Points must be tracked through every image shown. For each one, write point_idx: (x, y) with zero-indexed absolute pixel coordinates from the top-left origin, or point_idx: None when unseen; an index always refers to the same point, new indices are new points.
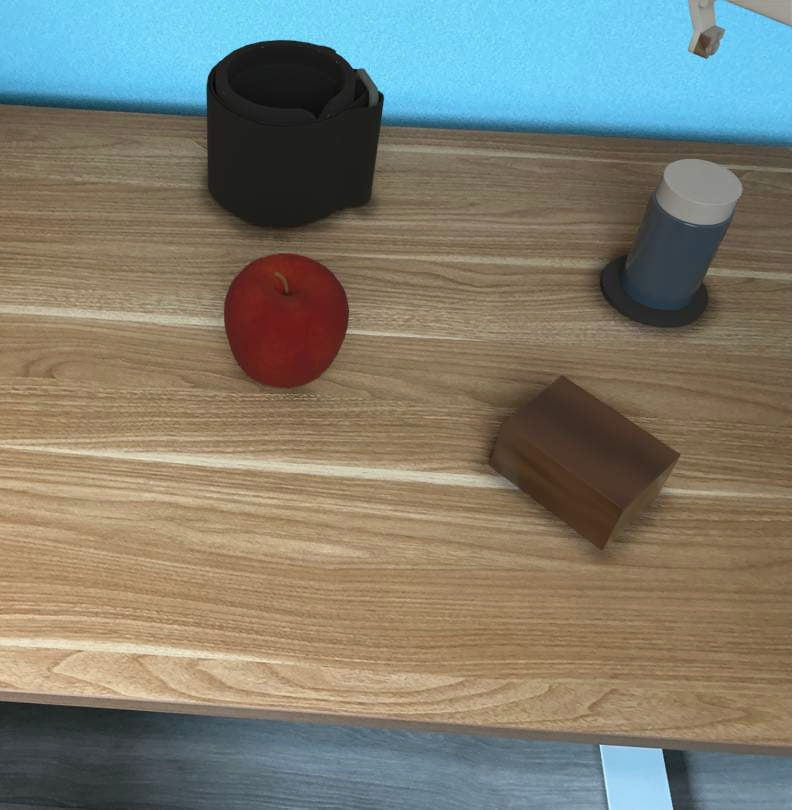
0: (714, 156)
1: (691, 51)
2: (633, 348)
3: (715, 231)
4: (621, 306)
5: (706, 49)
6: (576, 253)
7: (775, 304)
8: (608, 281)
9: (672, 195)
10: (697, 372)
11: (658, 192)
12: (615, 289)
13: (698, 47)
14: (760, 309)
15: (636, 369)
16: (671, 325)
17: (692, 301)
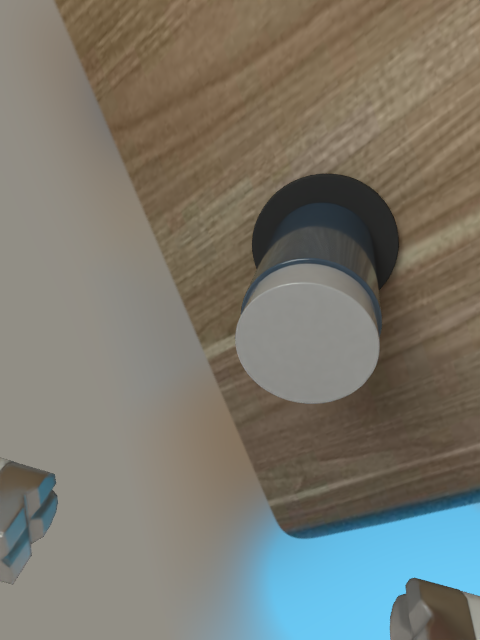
0: (339, 500)
1: (473, 597)
2: (306, 115)
3: (253, 279)
4: (350, 181)
5: (428, 611)
6: (446, 262)
7: (193, 306)
8: (384, 222)
9: (342, 287)
10: (216, 127)
11: (371, 305)
12: (369, 211)
13: (459, 616)
14: (202, 289)
15: (286, 72)
16: (277, 192)
17: None
